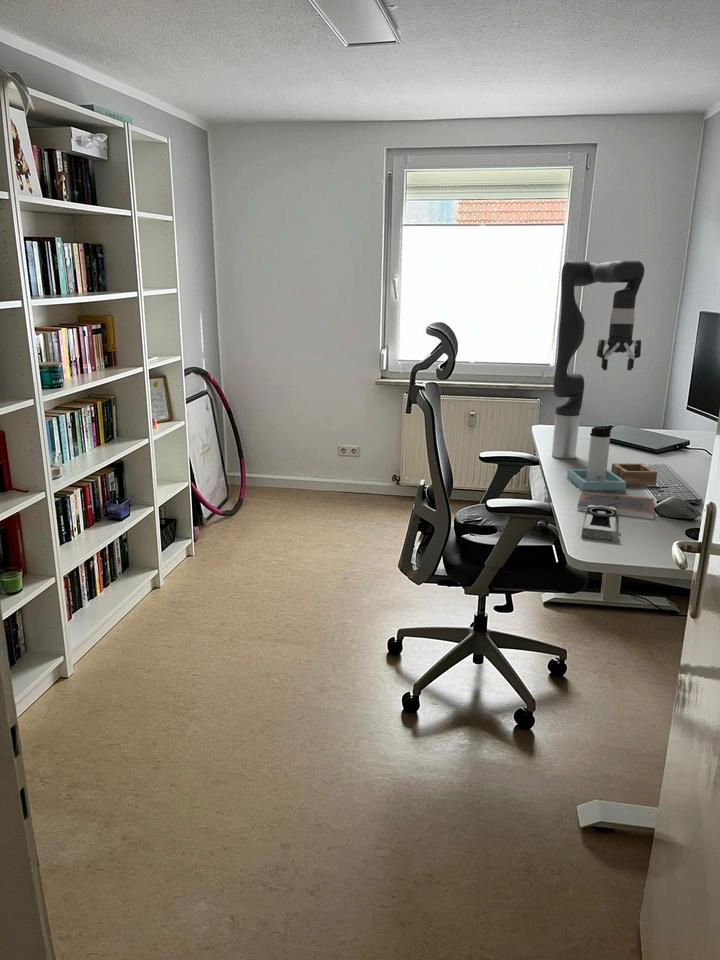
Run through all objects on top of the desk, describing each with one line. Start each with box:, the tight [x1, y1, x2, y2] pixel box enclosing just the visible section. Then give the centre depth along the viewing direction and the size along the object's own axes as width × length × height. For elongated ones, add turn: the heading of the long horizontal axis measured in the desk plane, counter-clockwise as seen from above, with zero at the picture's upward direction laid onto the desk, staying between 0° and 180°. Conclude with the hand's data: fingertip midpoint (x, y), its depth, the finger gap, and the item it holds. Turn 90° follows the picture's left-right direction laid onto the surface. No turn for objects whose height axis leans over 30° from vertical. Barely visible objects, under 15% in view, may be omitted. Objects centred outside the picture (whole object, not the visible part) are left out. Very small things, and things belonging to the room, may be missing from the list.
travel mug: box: [586, 425, 613, 481], centre depth 232 cm, size 6×7×20 cm
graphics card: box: [581, 505, 622, 543], centre depth 194 cm, size 10×3×25 cm
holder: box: [610, 462, 658, 487], centre depth 239 cm, size 12×11×5 cm
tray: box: [566, 469, 627, 493], centre depth 234 cm, size 16×14×4 cm
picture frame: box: [576, 491, 655, 520], centre depth 212 cm, size 16×2×22 cm
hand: (616, 370), depth 236 cm, fingers open, 8 cm apart
